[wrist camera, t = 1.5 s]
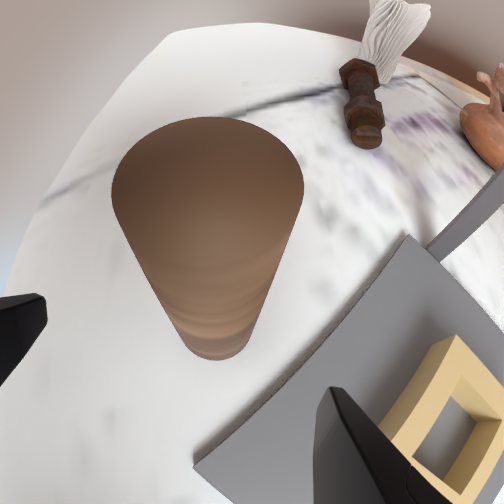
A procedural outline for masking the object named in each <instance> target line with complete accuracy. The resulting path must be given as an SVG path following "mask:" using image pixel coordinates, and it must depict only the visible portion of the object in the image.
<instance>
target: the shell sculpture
mask: <svg viewBox="0 0 504 504" xmlns="http://www.w3.org/2000/svg"><path fill="white" fill-rule="evenodd" d="M430 8H431V6H430V5H428V4H420V3H419V4H412V5H410V4H408V3H406V2H405V1H403V0H399V1H398V0H370V18H369V20H368V23H367V26H366V29H365V33H364V36H363V40H362V44H361V48H360V51H359V53H358V56H357V59H362V60H365V61H368V62H370V63H372V64H374V65H375V67H376V71H377V75H378V79H379V83H380V84H387V83H388V82H389V81H390V79H391V77H392V74H393V73H394V71H395V68H396V65H397V63H398V60H399V58H400V56H401V54H402V53H403V52H404V50H406V49H407V47H409V45H410V44H411V43H412V42H414V41H415V39H416V38H417V37H418V36H419V35H420V33H421V31H422V30H423V29H424V28H425V26H426V24H427V21H428V20H429V18H430V16H431V13H430V10H429V9H430ZM378 22H379V23H378ZM377 23H378V26H377V27H376V24H377ZM373 28H374V30H373ZM394 39H395V40H394ZM393 41H394V42H393ZM392 43H393V44H392ZM376 60H377V61H376Z"/></svg>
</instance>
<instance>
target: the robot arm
mask: <svg viewBox="0 0 504 504" xmlns="http://www.w3.org/2000/svg"><path fill="white" fill-rule="evenodd" d="M47 321H48V317H47V307H46V300H45V298H44V297H43V296H41V295H39V294H37V293H31V294H23V295H16V296H9V297H1V298H0V387H1V385H2V384H3V383H4V381H5V380H6V379H7V378H8V376H9V375H10V374H11V373H12V371H13V370H14V369H15V368H16V366H17V365H18V364H19V363H20V362H21V360H22V359H23V358H24V356H25V355H26V354H27V352H28V351H29V349H30V348H31V346H32V345H33V343H34V342H35V340H36V339H37V338H38V336H39V335H40V333H41V332H42V330H43V329H44V328H45V326H46V324H47ZM313 504H453V503H452V502H451V501H449V500H448V499H447V498H446V497H445V496H444V495H442V494H441V493H440V492H439V491H438V490H437V489H436V488H435V487H434V486H432V485H431V484H430V483H429V482H428V481H427V480H426V479H425V478H424V476H423V475H422V474H421V473H420V472H419V471H418V470H417V469H416V468H415V467H414V466H413V465H412V466H411V463H410V462H409V461H408V459H407V458H406V457H405V456H404V455H403V454H402V453H401V452H400V451H399V450H398V449H397V447H396V446H395V445H394V444H393V443H392V442H391V441H390V440H389V439H388V438H387V436H386V435H385V434H384V433H383V432H382V431H381V430H380V429H379V428H378V427H377V425H376V424H375V423H374V422H373V421H372V420H371V419H370V418H369V416H368V415H367V414H366V413H365V412H364V411H363V410H362V409H361V408H360V406H359V405H358V404H357V403H356V402H355V401H354V400H353V399H352V397H351V396H350V395H349V394H348V393H347V392H346V391H345V390H344V389H343V388H341V387H335V386H329V387H328V388H327V389H326V391H325V393H324V395H323V397H322V399H321V401H320V403H319V405H318V407H317V411H316V422H315V434H314V445H313Z"/></svg>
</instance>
